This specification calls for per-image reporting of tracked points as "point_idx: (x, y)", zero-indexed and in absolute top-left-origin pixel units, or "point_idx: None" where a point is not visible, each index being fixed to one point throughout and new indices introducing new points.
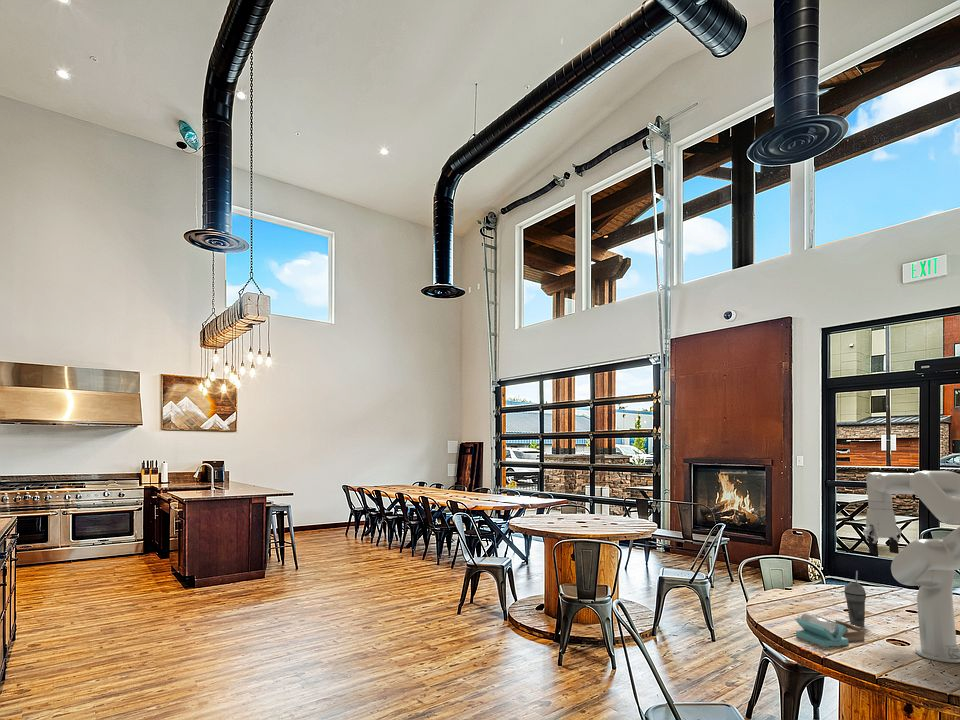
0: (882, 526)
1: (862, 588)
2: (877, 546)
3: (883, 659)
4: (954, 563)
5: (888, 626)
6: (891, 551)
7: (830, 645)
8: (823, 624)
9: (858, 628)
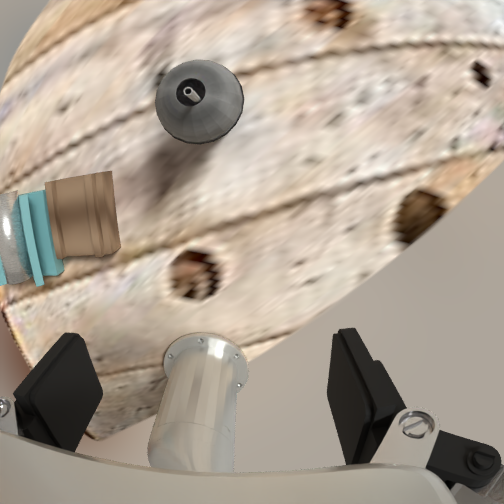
0: None
1: (205, 131)
2: (74, 442)
3: None
4: None
5: (301, 151)
6: (333, 354)
7: None
8: (2, 266)
9: (95, 253)
